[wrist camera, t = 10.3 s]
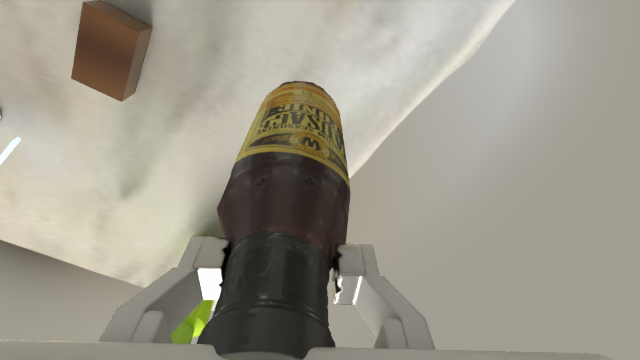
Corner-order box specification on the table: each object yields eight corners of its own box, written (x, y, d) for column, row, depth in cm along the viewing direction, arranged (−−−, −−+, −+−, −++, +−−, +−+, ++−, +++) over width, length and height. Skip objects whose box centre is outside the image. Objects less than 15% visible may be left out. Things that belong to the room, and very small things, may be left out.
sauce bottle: (351, 94, 24) (449, 362, 8) (319, 159, 27) (340, 448, 11) (270, 60, 22) (172, 307, 6) (246, 133, 26) (139, 427, 9)
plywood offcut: (134, 93, 36) (121, 102, 34) (88, 70, 35) (70, 78, 32) (152, 27, 32) (139, 32, 30) (101, -1, 31) (82, 1, 28)
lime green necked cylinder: (240, 249, 51) (205, 385, 34) (210, 266, 53) (163, 401, 36) (214, 227, 48) (162, 364, 31) (183, 246, 50) (119, 383, 34)
